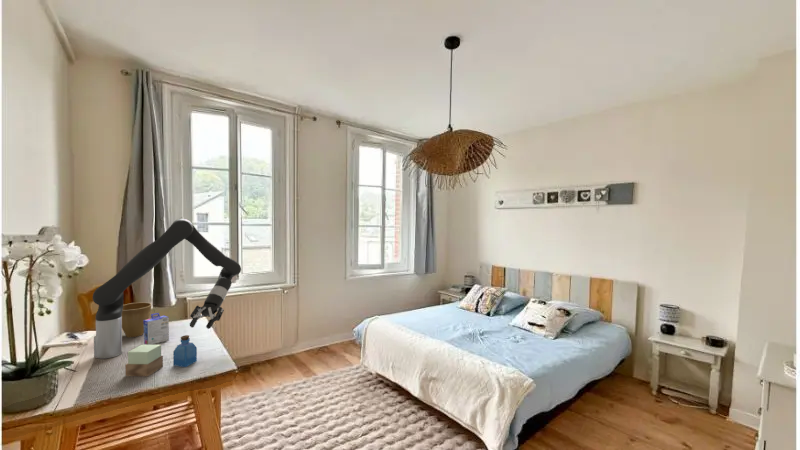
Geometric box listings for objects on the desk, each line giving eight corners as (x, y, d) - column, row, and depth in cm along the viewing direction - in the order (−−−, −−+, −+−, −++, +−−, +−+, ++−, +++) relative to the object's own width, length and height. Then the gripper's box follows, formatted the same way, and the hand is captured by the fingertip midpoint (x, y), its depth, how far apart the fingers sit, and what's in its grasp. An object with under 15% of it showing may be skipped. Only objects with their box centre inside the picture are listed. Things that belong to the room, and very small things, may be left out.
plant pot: (115, 334, 187) (115, 305, 186) (149, 328, 197) (149, 301, 197) (118, 342, 176) (117, 311, 176) (153, 335, 186) (153, 306, 186)
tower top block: (128, 364, 141) (127, 351, 141) (142, 356, 149) (142, 344, 149) (147, 364, 141) (147, 352, 141) (161, 356, 149) (161, 344, 149)
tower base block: (125, 376, 140) (125, 364, 140) (141, 367, 149) (141, 355, 149) (147, 377, 140) (147, 364, 140) (162, 367, 149) (162, 355, 149)
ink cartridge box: (164, 337, 183) (164, 310, 183) (169, 340, 180) (169, 312, 180) (143, 343, 175) (142, 315, 174) (148, 346, 172) (147, 317, 172)
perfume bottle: (185, 367, 149) (185, 339, 149) (173, 365, 150) (173, 338, 150) (196, 361, 155) (196, 334, 155) (184, 359, 156) (184, 333, 156)
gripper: (199, 292, 170) (181, 322, 159) (225, 293, 168) (209, 324, 157) (207, 300, 176) (190, 330, 165) (232, 301, 173) (217, 332, 162)
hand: (199, 327), depth 161 cm, fingers open, 8 cm apart
